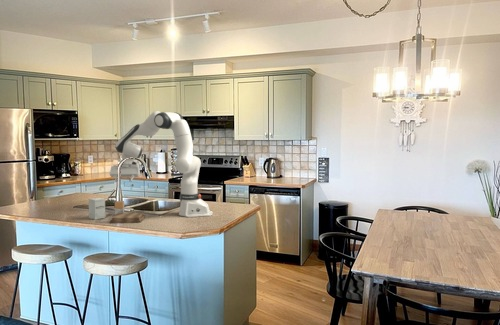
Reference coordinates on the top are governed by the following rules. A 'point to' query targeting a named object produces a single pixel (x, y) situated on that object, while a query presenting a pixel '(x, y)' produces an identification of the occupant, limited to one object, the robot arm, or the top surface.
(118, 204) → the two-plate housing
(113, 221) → the walnut stand
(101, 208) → the supplement box
